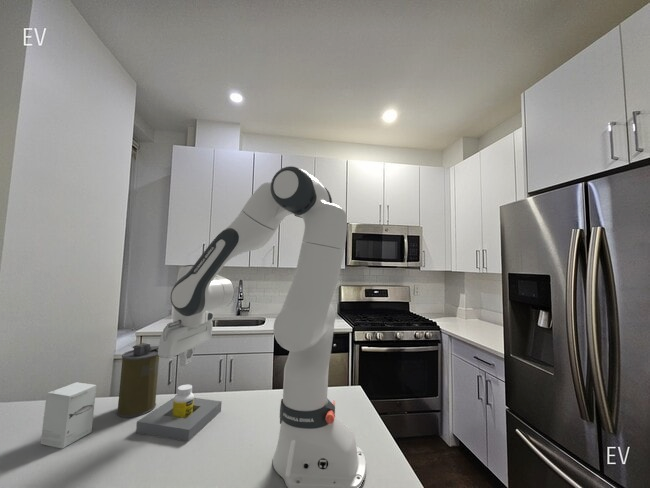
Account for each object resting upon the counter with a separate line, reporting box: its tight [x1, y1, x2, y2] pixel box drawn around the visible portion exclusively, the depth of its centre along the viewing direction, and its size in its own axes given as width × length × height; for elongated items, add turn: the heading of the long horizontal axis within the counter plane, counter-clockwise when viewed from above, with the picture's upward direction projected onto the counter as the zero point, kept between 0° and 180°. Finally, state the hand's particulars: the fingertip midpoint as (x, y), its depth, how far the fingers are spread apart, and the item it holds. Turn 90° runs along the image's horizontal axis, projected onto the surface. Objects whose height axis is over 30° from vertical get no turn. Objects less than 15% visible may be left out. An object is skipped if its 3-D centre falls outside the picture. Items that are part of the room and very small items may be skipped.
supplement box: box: [40, 381, 97, 449], centre depth 74 cm, size 7×7×13 cm
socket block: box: [135, 397, 222, 442], centre depth 83 cm, size 16×16×4 cm
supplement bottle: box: [172, 384, 195, 419], centre depth 84 cm, size 5×5×10 cm
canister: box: [116, 342, 160, 418], centre depth 90 cm, size 11×10×20 cm
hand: (185, 364), depth 84 cm, fingers closed
